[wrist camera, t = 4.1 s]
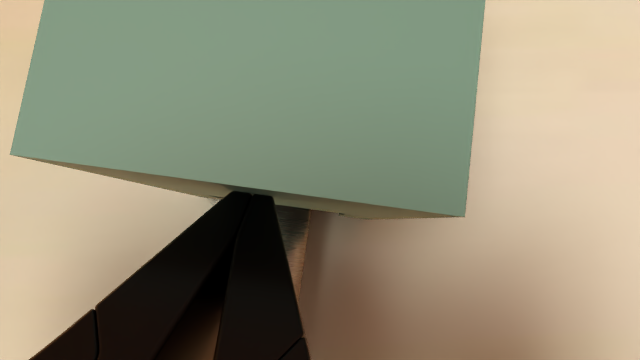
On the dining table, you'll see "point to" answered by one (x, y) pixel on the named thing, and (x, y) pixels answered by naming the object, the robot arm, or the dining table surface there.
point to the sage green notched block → (262, 99)
